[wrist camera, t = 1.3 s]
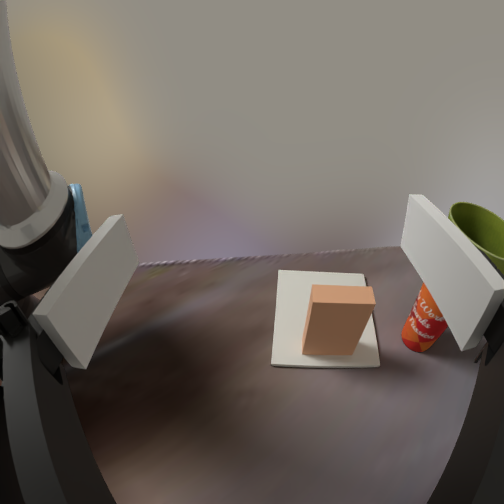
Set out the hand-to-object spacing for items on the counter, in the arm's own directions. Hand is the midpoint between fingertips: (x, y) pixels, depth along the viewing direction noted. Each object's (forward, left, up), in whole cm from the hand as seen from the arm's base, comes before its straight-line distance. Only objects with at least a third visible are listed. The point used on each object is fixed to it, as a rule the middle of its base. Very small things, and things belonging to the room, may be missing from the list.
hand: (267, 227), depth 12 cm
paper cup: (+13, +22, -28) cm, 38 cm away
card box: (+1, +13, -27) cm, 30 cm away
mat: (-2, +18, -27) cm, 33 cm away
